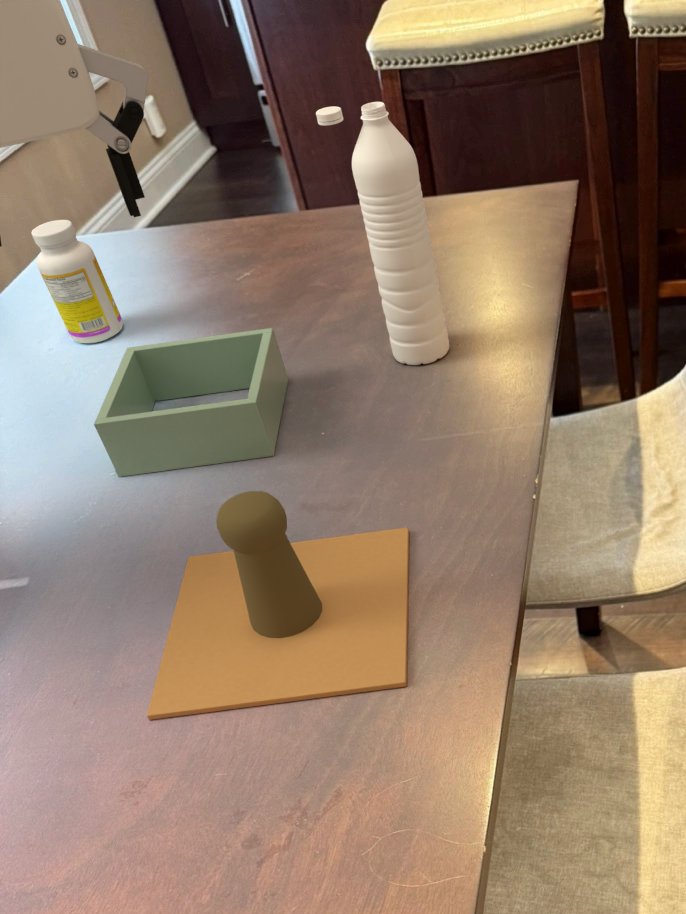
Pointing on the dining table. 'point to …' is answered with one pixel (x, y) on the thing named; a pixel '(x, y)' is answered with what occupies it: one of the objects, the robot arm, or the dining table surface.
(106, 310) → the supplement bottle
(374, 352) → the dining table surface
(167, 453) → the open box
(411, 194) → the bottle and cap
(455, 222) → the dining table surface
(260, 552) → the pepper shaker
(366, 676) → the mat
